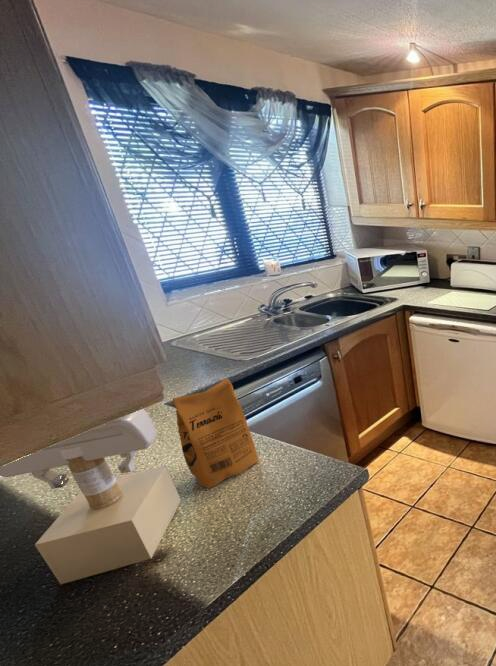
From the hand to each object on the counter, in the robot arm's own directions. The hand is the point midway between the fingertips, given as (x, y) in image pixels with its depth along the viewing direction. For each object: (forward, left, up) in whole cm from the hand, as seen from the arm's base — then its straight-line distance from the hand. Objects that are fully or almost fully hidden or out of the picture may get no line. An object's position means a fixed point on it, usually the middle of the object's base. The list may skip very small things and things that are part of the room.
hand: (95, 477), depth 69 cm
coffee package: (+13, +15, -15) cm, 25 cm away
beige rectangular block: (0, 0, -15) cm, 15 cm away
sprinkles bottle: (0, 0, -6) cm, 6 cm away
